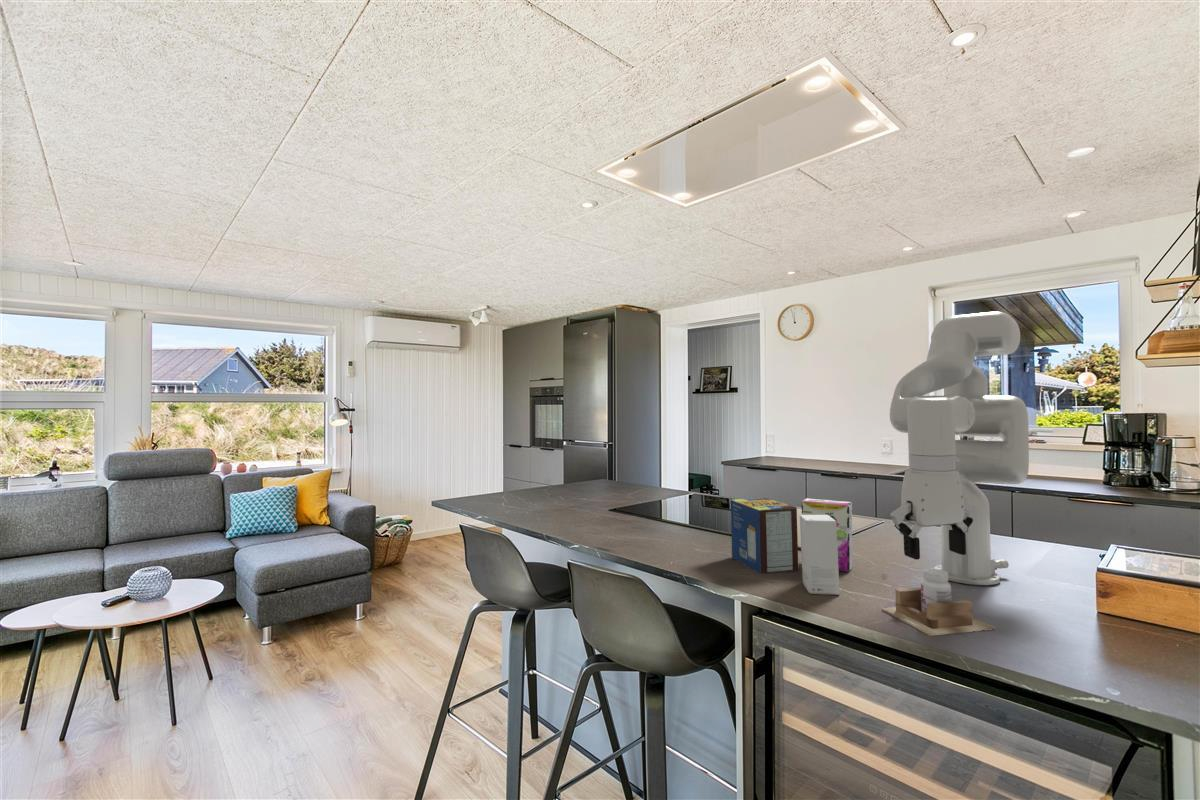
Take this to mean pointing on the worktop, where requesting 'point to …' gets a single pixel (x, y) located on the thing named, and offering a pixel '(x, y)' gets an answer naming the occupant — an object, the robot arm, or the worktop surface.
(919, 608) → the cradle
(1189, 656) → the worktop surface
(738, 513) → the protein box
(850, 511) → the candy bar box
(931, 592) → the pill bottle
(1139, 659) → the worktop surface
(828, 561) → the skincare box
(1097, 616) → the worktop surface
